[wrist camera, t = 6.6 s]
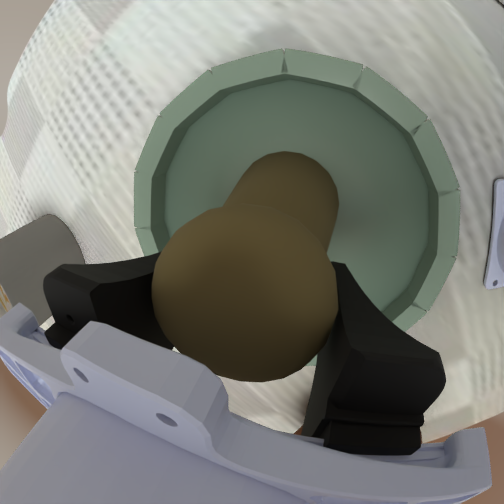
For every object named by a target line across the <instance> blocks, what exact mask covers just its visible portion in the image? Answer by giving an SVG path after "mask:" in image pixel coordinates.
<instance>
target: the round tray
mask: <svg viewBox="0 0 504 504" xmlns="http://www.w3.org/2000/svg"><path fill="white" fill-rule="evenodd" d="M362 69H363V65H362V64H359V63H355V62H351V61H347V60H343V59H339V58H335V57H331V56H326V55H321V54H316V53H311V52H305V51H299V50H293V49H286V48H285V52H284V51H283V49H278V50H273V51H269V52H265V53H260V54H256V55H253V56H249V57H245V58H242V59H238V60H235V61H231V62H228V63H225V64H222V65H219V66H216V67H213V68H211V70H212V71H211V70H207V71H206V72H205V73H204V74H202V75H201V76H200V77H199V78H198V79H196V80H195V81H194V82H193V83H192V84H191V85H189V86H188V87H187V88H186V89H185V90H184V91H183V92H182V93H180V94H179V95H178V96H177V97H176V98H175V99H174V100H173V101H172V102H171V103H170V104H169V105H168V106H167V107H166V108H165V109H163V110H162V111H161V112H160V115H161V116H158V117H157V119H156V121H155V123H154V125H153V127H152V130H151V132H150V134H149V137H148V139H147V141H146V143H145V146H144V148H143V151H142V153H141V156H140V158H139V161H138V163H137V166H136V168H135V170H136V172H134V226H135V227H137V228H135V231H136V234H137V237H138V240H139V242H140V245H141V248H142V251H143V253H144V256H148V255H152V254H155V253H158V252H161V251H162V250H163V249H164V247H165V246H166V244H167V243H168V241H169V240H170V239H171V237H172V236H173V234H174V233H175V232H176V231H177V230H178V229H179V228H180V227H182V226H183V225H184V224H186V223H187V222H189V221H190V220H192V219H194V218H195V217H197V216H198V215H200V214H202V213H203V212H205V211H207V210H209V209H214V208H219V207H222V206H223V205H224V203H225V202H226V200H227V198H228V197H229V195H230V194H231V192H232V190H233V189H234V187H235V186H236V184H237V183H238V181H239V180H240V178H241V177H242V175H243V174H244V172H245V171H246V170H247V169H248V168H249V167H250V166H251V164H252V163H253V162H255V161H256V160H258V159H260V158H262V157H263V156H265V155H267V154H271V153H276V152H281V151H288V152H296V153H302V154H304V155H306V156H308V157H310V158H312V159H314V160H316V161H317V162H318V163H320V164H321V165H322V166H323V167H324V168H325V169H326V170H327V171H328V172H329V174H330V175H331V177H332V179H333V181H334V183H335V185H336V187H337V192H338V198H339V208H338V214H337V219H336V223H335V226H334V230H333V234H332V237H331V241H330V244H329V247H328V251H327V256H328V258H329V260H330V262H331V261H334V262H339V263H344V264H346V266H347V267H348V269H349V271H350V272H351V274H352V275H353V277H354V279H355V280H356V282H357V283H358V284H359V286H360V287H361V289H362V290H363V291H364V293H365V294H366V295H367V297H368V298H369V299H370V300H371V302H372V303H373V304H374V305H375V306H376V307H377V308H378V309H379V310H380V311H381V312H382V313H383V314H384V315H385V316H386V317H387V318H388V319H389V320H390V321H391V322H393V323H394V324H395V325H396V326H397V327H399V328H400V329H401V330H403V331H404V332H405V331H406V330H408V329H409V328H410V327H411V326H412V325H414V324H415V323H416V322H417V321H418V320H420V319H421V318H422V317H423V316H424V315H425V314H426V313H427V311H426V310H428V311H429V310H430V308H431V306H432V304H433V303H434V301H435V299H436V297H437V296H438V294H439V292H440V290H441V288H442V286H443V284H444V283H445V281H446V279H447V277H448V275H449V273H450V271H451V269H452V267H453V264H454V262H455V260H456V258H455V256H457V251H458V240H459V225H460V190H459V189H457V188H459V184H458V181H457V179H456V176H455V173H454V171H453V168H452V166H451V163H450V161H449V158H448V156H447V154H446V151H445V149H444V147H443V145H442V143H441V140H440V138H439V136H438V134H437V132H436V130H435V128H434V126H433V124H432V122H431V120H426V119H427V117H428V116H427V115H426V114H425V113H424V112H422V111H421V110H420V109H419V108H418V107H417V106H416V105H415V104H414V103H413V102H411V101H410V100H409V99H408V98H407V97H406V96H404V95H403V94H402V93H401V92H400V91H398V90H397V89H396V88H395V87H393V86H392V85H391V84H390V83H388V82H387V81H386V80H384V79H383V78H382V77H380V76H379V75H378V74H376V73H375V72H374V71H372V70H371V69H370V68H368V67H367V66H366V68H365V69H364V70H363V72H362ZM316 362H317V355H316V356H315V357H314V358H313V359H312V360H311V361H310V362H309V363H308V364H307V365H306V366H316Z"/></svg>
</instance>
